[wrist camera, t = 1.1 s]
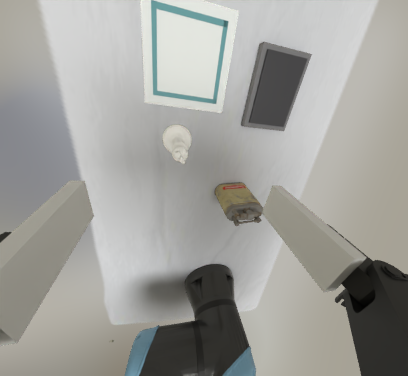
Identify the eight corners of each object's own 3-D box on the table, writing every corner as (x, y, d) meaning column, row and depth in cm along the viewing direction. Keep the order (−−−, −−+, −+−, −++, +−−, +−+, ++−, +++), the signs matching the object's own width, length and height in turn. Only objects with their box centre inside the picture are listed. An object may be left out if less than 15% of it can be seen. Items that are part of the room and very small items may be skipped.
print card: (221, 113, 26) (221, 113, 26) (145, 102, 24) (144, 102, 23) (238, 12, 21) (239, 10, 20) (139, -18, 18) (139, -19, 18)
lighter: (246, 181, 35) (272, 210, 26) (244, 196, 36) (267, 227, 28) (214, 184, 33) (230, 214, 25) (214, 199, 35) (228, 232, 27)
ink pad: (280, 129, 30) (285, 131, 29) (241, 125, 28) (244, 126, 27) (305, 55, 25) (313, 53, 23) (259, 44, 23) (265, 40, 21)
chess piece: (182, 118, 26) (188, 130, 17) (196, 144, 28) (208, 166, 20) (156, 134, 26) (150, 152, 18) (172, 158, 29) (174, 185, 20)
